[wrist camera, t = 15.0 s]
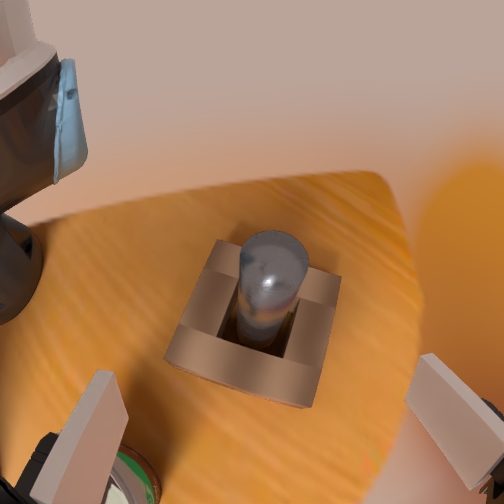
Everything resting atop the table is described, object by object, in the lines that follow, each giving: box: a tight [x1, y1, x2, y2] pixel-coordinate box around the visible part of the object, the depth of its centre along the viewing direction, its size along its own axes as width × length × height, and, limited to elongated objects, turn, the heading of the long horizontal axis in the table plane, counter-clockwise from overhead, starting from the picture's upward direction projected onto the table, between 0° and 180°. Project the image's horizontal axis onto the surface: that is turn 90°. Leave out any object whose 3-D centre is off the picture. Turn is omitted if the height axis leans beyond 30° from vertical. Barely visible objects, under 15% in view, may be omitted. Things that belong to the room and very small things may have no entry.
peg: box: [237, 231, 309, 350], centre depth 22 cm, size 4×4×14 cm
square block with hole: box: [164, 239, 341, 409], centre depth 26 cm, size 13×13×4 cm
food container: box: [56, 429, 161, 504], centre depth 14 cm, size 12×6×10 cm, turn 4°
